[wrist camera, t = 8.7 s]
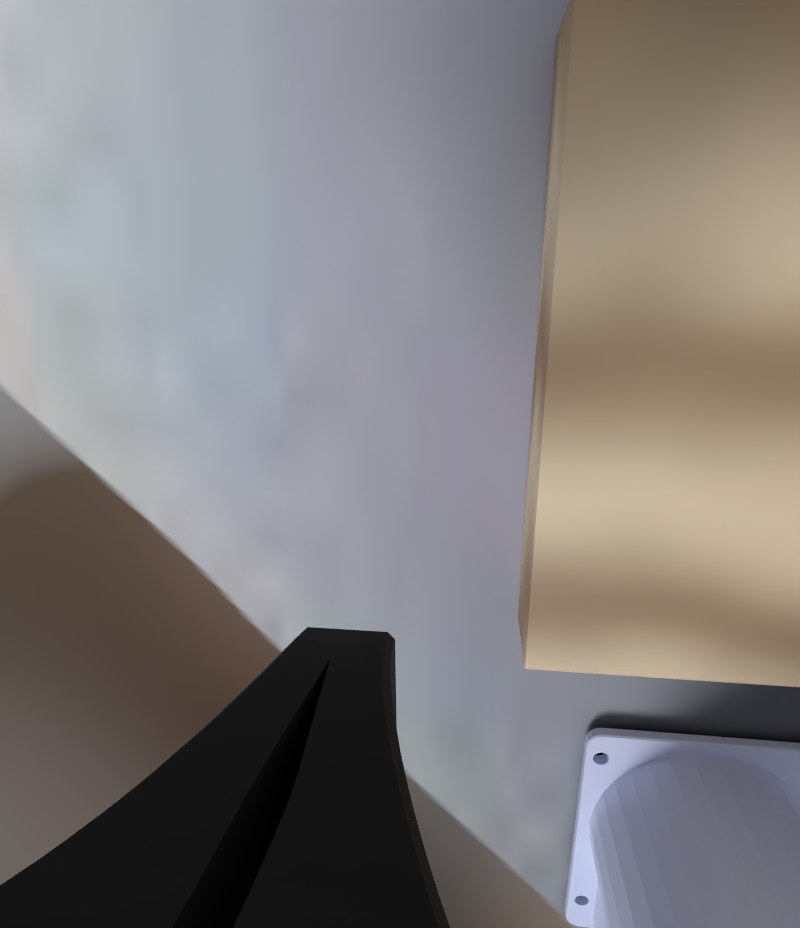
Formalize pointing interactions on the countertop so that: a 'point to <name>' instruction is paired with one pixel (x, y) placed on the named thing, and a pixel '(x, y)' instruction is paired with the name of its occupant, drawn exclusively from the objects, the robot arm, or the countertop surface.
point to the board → (669, 348)
